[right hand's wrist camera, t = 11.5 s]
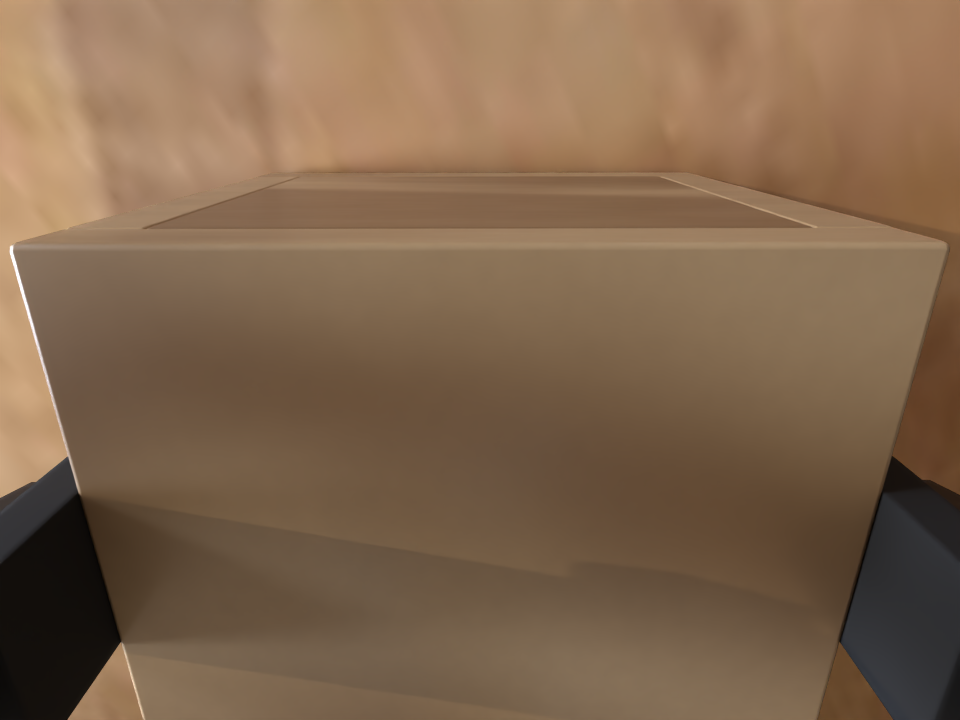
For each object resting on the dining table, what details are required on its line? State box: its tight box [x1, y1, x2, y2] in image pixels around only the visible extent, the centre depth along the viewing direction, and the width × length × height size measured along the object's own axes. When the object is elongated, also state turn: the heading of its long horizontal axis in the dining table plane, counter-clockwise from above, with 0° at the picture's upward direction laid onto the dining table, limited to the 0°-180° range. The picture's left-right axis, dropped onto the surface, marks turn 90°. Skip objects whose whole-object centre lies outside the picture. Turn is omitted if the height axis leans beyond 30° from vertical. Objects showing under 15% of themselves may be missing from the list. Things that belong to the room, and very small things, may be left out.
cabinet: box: [10, 172, 950, 720], centre depth 16 cm, size 21×11×10 cm, turn 0°
